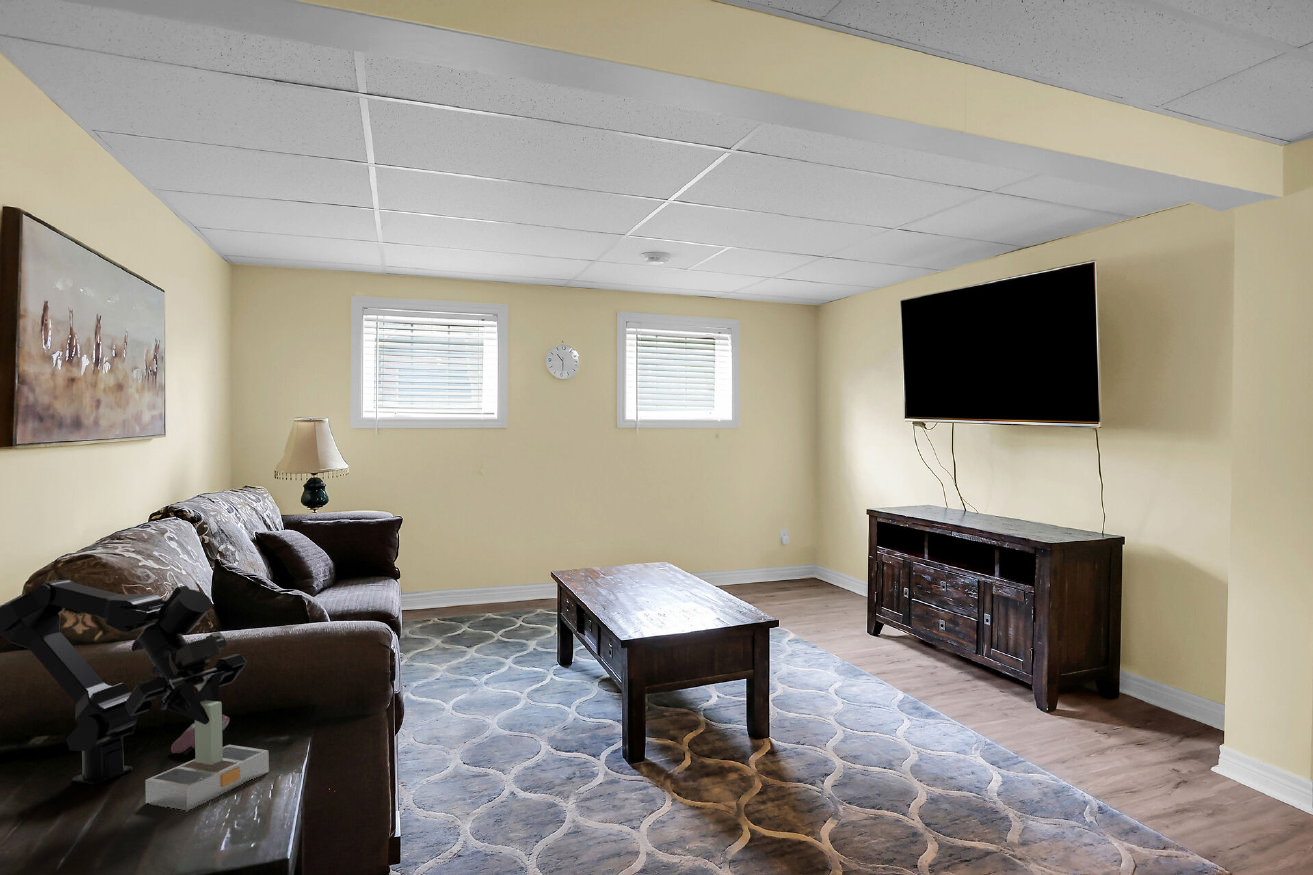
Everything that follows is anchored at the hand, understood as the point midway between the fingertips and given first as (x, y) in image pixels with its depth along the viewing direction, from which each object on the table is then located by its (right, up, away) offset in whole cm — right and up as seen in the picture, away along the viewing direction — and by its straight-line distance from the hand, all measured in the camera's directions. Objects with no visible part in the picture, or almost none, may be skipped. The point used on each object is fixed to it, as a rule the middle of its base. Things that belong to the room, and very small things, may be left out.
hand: (213, 719), depth 122 cm
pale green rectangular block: (-1, -7, 0) cm, 7 cm away
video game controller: (-15, -13, +20) cm, 28 cm away
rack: (-1, -12, 0) cm, 12 cm away
